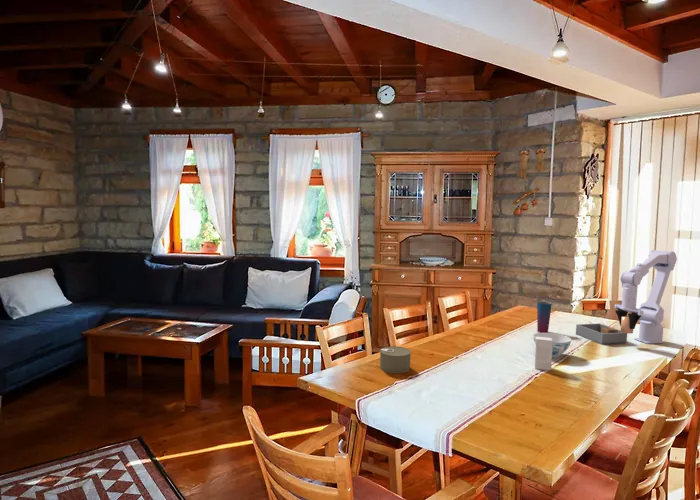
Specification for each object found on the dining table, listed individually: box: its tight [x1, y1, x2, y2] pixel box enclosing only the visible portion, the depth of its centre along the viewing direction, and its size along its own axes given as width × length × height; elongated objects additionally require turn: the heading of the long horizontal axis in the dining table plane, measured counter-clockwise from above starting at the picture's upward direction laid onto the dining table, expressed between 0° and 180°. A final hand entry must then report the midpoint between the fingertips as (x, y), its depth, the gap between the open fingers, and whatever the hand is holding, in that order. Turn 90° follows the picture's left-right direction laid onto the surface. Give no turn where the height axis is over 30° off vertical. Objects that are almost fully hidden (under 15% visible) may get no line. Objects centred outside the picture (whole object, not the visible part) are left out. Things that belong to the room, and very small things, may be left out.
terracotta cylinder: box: [620, 315, 634, 334], centre depth 219 cm, size 5×5×7 cm
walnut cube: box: [601, 326, 619, 334], centre depth 228 cm, size 5×5×5 cm
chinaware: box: [532, 332, 572, 358], centre depth 204 cm, size 15×15×8 cm
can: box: [379, 345, 412, 374], centre depth 184 cm, size 12×12×7 cm
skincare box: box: [534, 337, 553, 371], centre depth 187 cm, size 6×4×12 cm
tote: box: [575, 322, 628, 346], centre depth 231 cm, size 14×18×5 cm
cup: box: [536, 300, 552, 333], centre depth 241 cm, size 7×7×15 cm
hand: (627, 327), depth 219 cm, fingers closed on terracotta cylinder, 5 cm apart
